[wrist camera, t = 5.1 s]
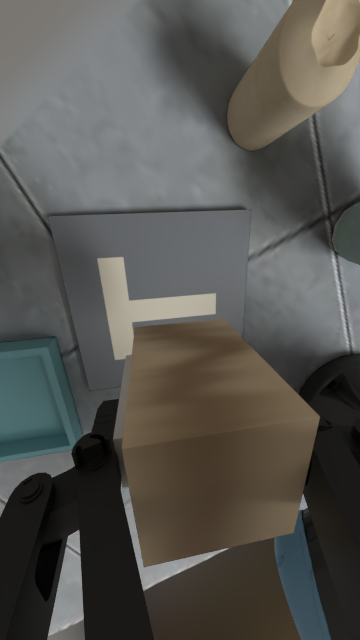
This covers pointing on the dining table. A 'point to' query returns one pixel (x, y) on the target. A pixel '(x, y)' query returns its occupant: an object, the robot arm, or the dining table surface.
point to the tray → (35, 400)
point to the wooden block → (210, 442)
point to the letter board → (148, 277)
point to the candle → (296, 71)
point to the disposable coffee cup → (348, 234)
